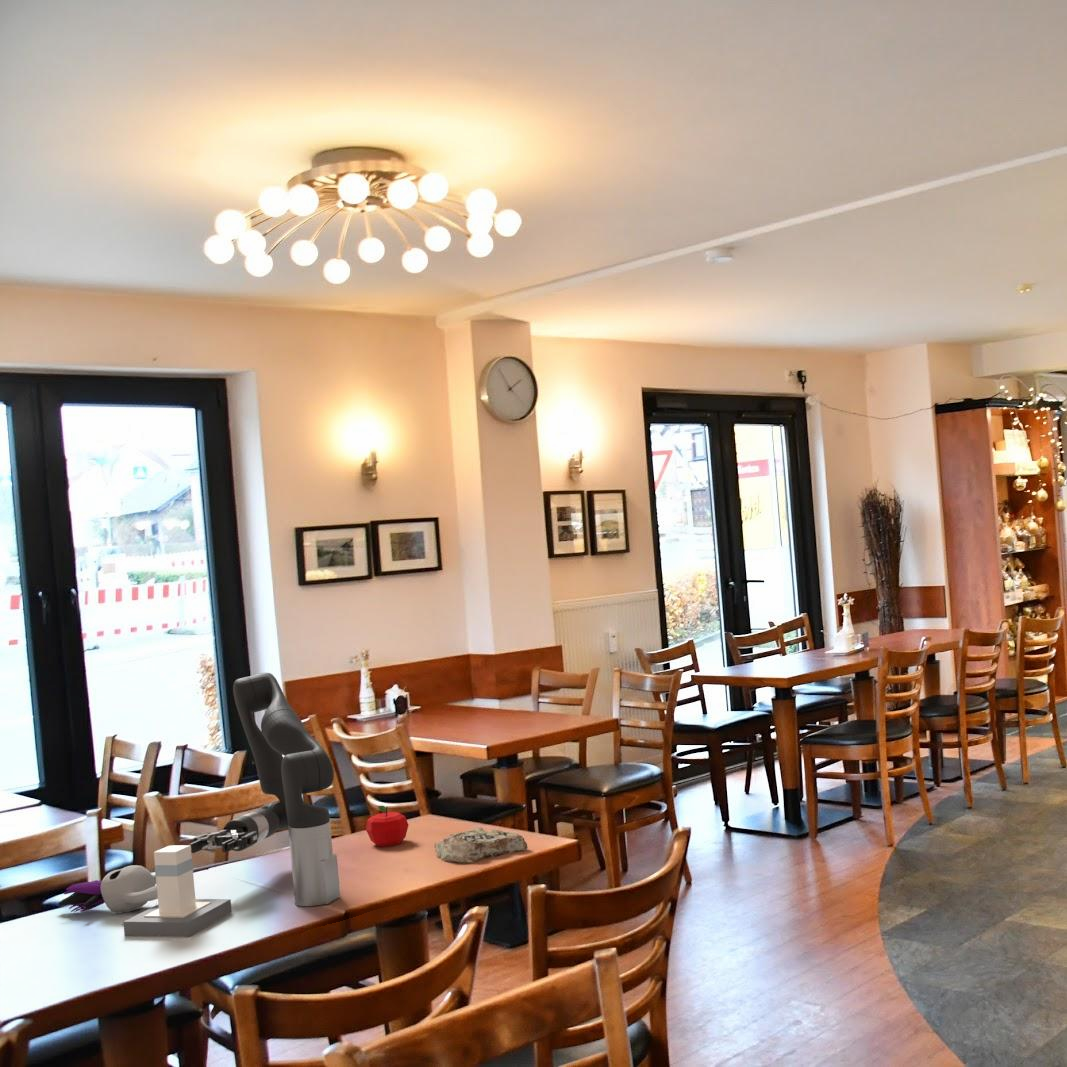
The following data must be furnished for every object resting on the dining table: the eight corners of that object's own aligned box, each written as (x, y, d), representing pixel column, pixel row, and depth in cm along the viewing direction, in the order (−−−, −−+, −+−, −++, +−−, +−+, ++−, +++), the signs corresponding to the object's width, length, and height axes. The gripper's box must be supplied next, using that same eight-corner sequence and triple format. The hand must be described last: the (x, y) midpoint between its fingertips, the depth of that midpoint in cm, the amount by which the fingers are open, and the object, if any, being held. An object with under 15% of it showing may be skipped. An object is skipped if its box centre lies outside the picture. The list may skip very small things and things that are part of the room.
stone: (461, 846, 285) (410, 829, 306) (463, 870, 285) (412, 852, 306) (527, 830, 296) (474, 815, 317) (529, 854, 296) (476, 837, 317)
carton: (196, 904, 261) (191, 845, 261) (180, 912, 256) (175, 852, 256) (174, 904, 263) (169, 845, 263) (158, 912, 258) (153, 852, 258)
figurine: (73, 872, 285) (184, 845, 279) (85, 911, 286) (196, 885, 280) (33, 897, 270) (150, 869, 264) (46, 938, 270) (163, 912, 264)
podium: (231, 912, 264) (230, 897, 264) (188, 936, 249) (187, 921, 249) (170, 912, 269) (169, 897, 269) (124, 935, 254) (123, 920, 254)
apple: (417, 840, 317) (413, 803, 317) (385, 850, 309) (382, 811, 310) (391, 837, 324) (388, 800, 325) (360, 846, 317) (356, 808, 317)
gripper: (219, 816, 289) (178, 832, 274) (270, 814, 285) (232, 831, 269) (222, 847, 289) (181, 865, 274) (273, 846, 285) (235, 864, 269)
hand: (207, 848), depth 272 cm, fingers open, 8 cm apart
